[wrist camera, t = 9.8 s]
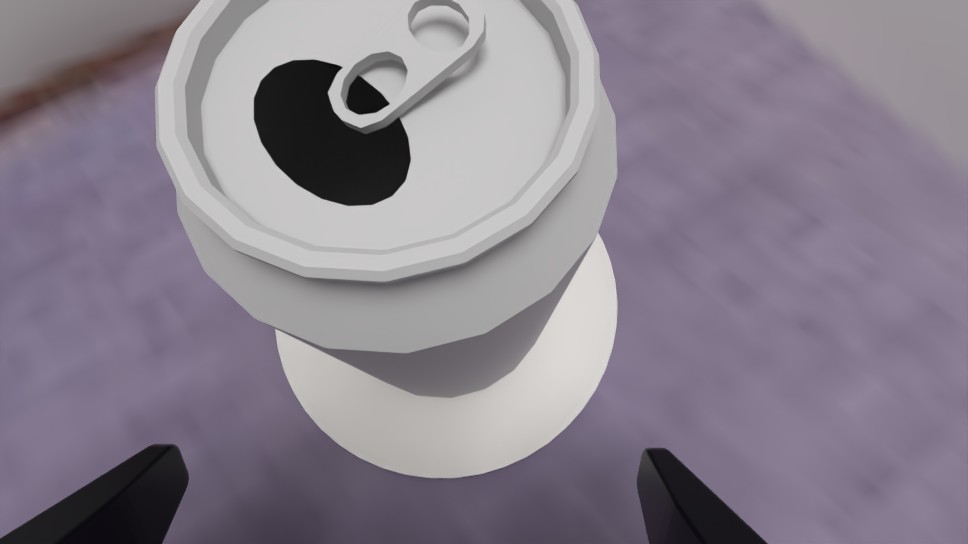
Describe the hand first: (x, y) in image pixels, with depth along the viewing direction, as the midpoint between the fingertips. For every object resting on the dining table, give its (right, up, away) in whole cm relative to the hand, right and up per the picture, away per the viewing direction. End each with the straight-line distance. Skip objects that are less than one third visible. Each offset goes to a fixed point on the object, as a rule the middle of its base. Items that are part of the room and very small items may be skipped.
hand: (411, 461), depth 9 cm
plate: (0, +3, +10) cm, 10 cm away
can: (0, +3, +9) cm, 9 cm away
